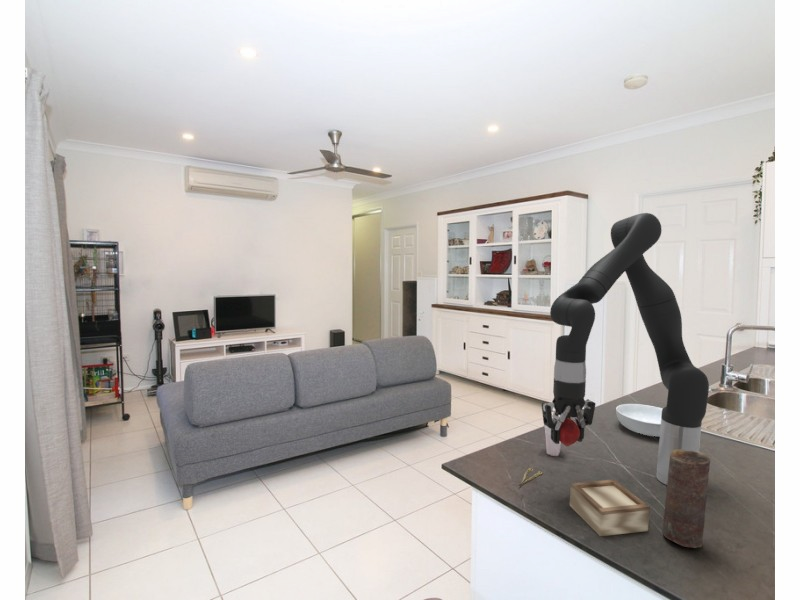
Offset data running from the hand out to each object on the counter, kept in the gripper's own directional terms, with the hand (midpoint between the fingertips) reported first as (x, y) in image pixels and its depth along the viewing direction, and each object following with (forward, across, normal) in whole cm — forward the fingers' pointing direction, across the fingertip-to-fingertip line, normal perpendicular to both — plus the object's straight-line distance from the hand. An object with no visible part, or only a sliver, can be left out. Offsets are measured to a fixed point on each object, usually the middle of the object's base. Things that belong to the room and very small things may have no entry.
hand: (567, 441), depth 111 cm
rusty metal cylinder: (+15, -15, +21) cm, 30 cm away
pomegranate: (+1, 0, 0) cm, 1 cm away
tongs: (+15, +5, -9) cm, 19 cm away
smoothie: (+15, -10, -22) cm, 29 cm away
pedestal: (+15, -4, +10) cm, 19 cm away
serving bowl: (+15, -53, -33) cm, 64 cm away
